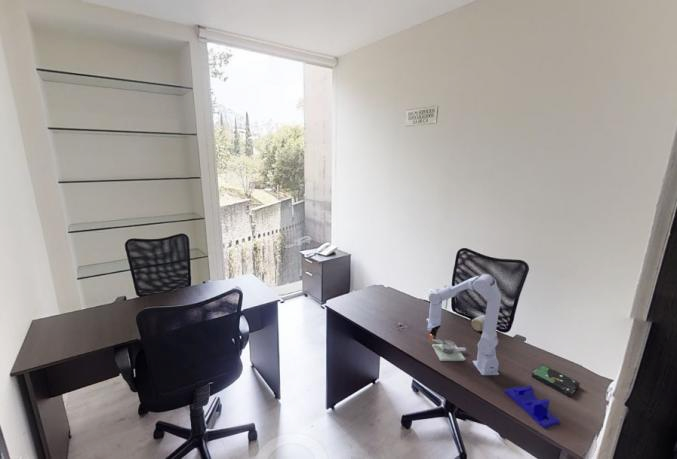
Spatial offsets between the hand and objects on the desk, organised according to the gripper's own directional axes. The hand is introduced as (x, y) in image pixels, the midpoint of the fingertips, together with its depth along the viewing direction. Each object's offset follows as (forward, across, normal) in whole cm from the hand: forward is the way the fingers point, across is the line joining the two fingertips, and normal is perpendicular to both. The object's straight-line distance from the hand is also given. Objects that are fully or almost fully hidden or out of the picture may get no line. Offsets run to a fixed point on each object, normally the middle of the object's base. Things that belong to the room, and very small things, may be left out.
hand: (432, 337), depth 159 cm
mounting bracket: (+5, +16, +46) cm, 49 cm away
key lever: (+1, +2, +5) cm, 6 cm away
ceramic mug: (+4, -31, +17) cm, 35 cm away
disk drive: (+5, -7, +52) cm, 53 cm away
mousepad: (+4, -6, -17) cm, 19 cm away
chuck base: (+4, +1, +10) cm, 11 cm away
